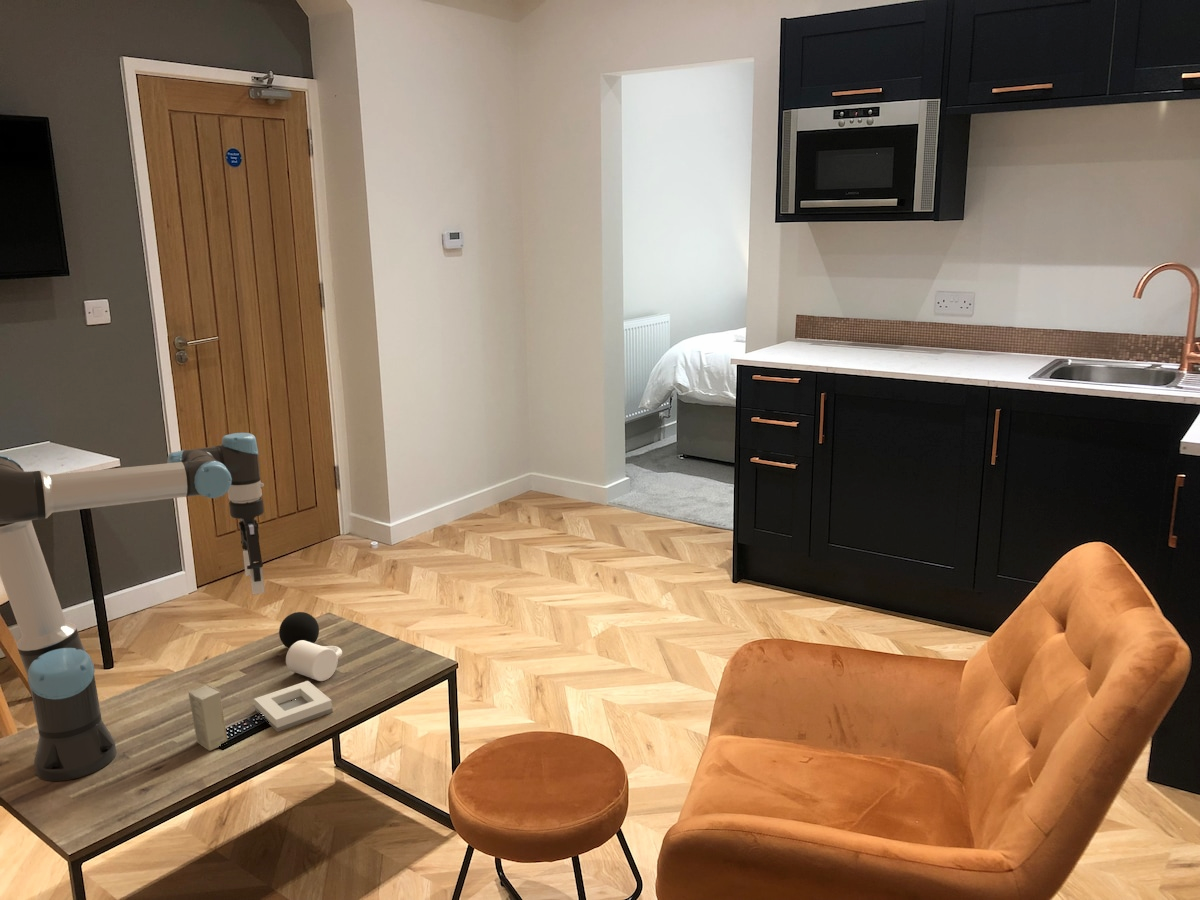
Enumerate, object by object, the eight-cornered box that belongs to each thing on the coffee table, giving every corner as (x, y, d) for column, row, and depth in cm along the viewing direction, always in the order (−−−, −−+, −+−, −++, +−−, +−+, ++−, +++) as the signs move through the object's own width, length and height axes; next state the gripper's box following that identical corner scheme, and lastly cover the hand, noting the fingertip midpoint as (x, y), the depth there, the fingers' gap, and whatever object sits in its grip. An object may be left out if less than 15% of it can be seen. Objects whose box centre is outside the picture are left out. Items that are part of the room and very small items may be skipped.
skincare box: (228, 743, 211) (221, 692, 208) (208, 752, 207) (201, 700, 204) (214, 733, 215) (207, 683, 212) (194, 742, 211) (187, 691, 209)
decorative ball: (302, 638, 263) (298, 603, 260) (328, 645, 258) (325, 610, 255) (273, 652, 254) (268, 616, 252) (299, 660, 249) (295, 624, 247)
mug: (314, 686, 235) (310, 656, 233) (287, 676, 241) (283, 647, 239) (351, 667, 245) (349, 637, 243) (325, 658, 250) (322, 629, 248)
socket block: (277, 732, 215) (276, 719, 214) (255, 710, 224) (254, 698, 224) (332, 712, 223) (331, 700, 222) (309, 692, 232) (307, 680, 232)
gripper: (269, 510, 219) (278, 598, 224) (255, 484, 241) (264, 565, 246) (234, 514, 216) (244, 604, 221) (223, 488, 238) (232, 570, 243)
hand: (254, 584), depth 233 cm, fingers open, 13 cm apart
